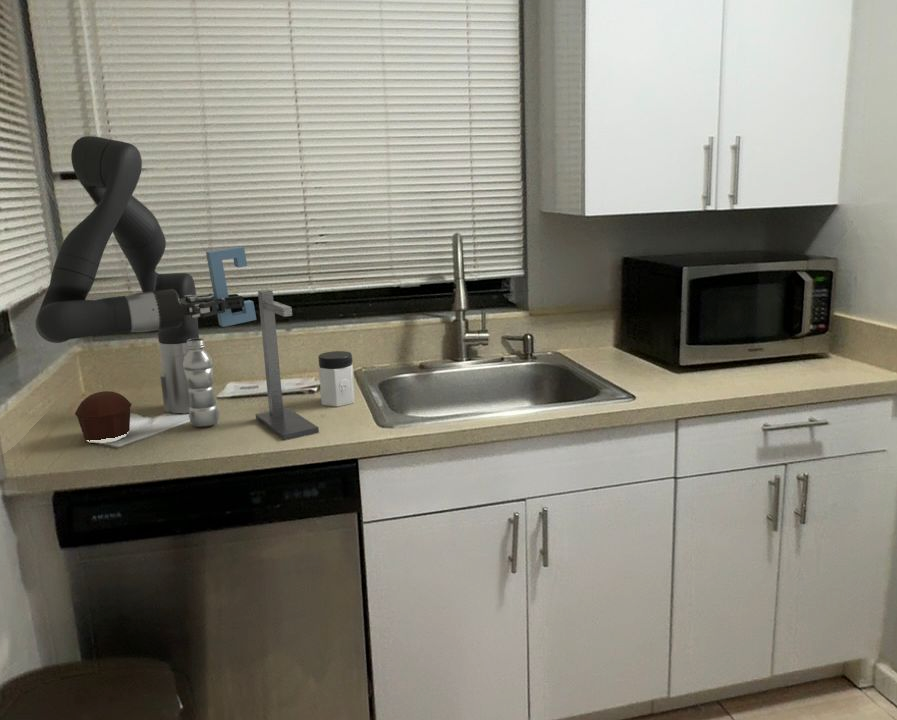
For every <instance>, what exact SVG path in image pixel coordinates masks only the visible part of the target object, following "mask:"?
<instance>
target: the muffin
mask: <svg viewBox="0 0 897 720" xmlns="http://www.w3.org/2000/svg"><path fill="white" fill-rule="evenodd" d="M131 408H132V403H131V402H130V401H129V400H128V399H127V398H126V397H125V396H124V395H122V394H121V393H119V392H115V391H98V392H95V393H92V394H90V395H88V396H86V397H85V398H84V399H83V400H82V401H81V402H80V404H79V405H78V407H77V409H76V410H75V412H74V415H75V417H77V420H78V423H79V427H80V429H81V432H82V435H83V437H84V441H85V440H89V441H90V440H101V439H106V438H115V437H118V436H121V435H124V434H127V432H128V431H129V430H130V429H131V428H130V425H131V424H130V423H131Z"/></svg>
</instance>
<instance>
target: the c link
mask: <svg viewBox="0 0 897 720" xmlns="http://www.w3.org/2000/svg"><path fill="white" fill-rule="evenodd" d="M205 254H206V255H205V256H206V261H207V266H208V271H209V276H210V282H211V287H212V292H213V293H212V294H214V299H215V298H221V297H223V298H227V297H229V296H228V295H229V290H228V286H227V280H226V274H225V269H224V264H223V261H226V260H231V259H232V260H233V265H234V267H236V268H244V267H248V263H247V256H246V250H245V247H244V246H241V245H240V246H233V247H227V248H222V249H214V250H210V251H209V250H208V251H205ZM254 302H255V301H253V300H250V299H248V300H244V307H241V309H242V311H241V310H240V311H235V312H232V308H231V309H226V312H224V313H219V314H216V315H217V320H218V325H219V326H221V327H223V328H224V327H230V326H233V325H238V324H243V323H249V322H252V321H257V316H256V309H255V304H254ZM216 308H219V304H217V305H216Z"/></svg>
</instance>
